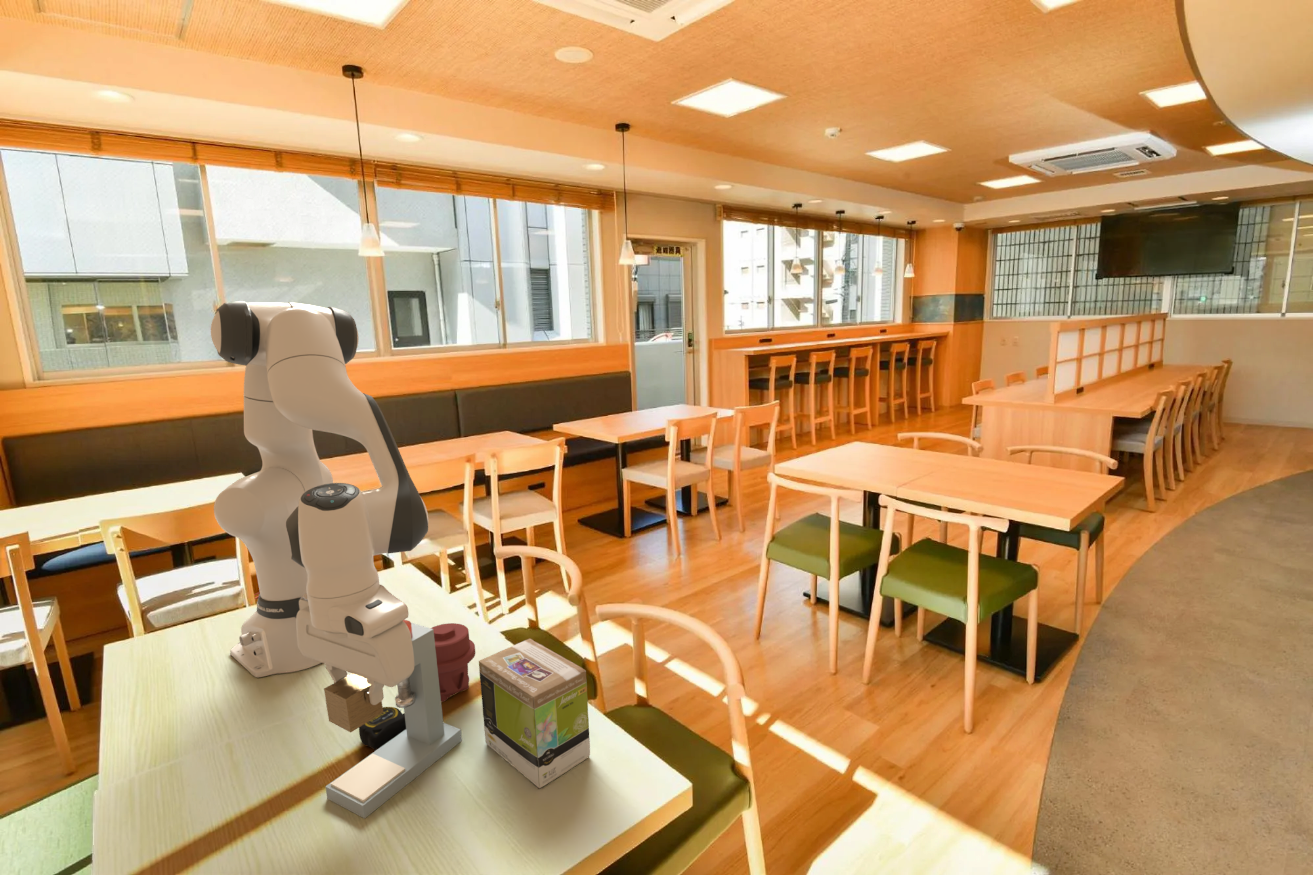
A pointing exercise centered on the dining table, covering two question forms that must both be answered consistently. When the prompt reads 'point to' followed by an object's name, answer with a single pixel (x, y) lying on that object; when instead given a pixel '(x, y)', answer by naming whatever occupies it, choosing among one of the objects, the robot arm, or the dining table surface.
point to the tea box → (535, 710)
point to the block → (350, 703)
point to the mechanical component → (452, 658)
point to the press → (402, 740)
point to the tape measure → (382, 728)
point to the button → (405, 685)
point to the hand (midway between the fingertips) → (359, 695)
